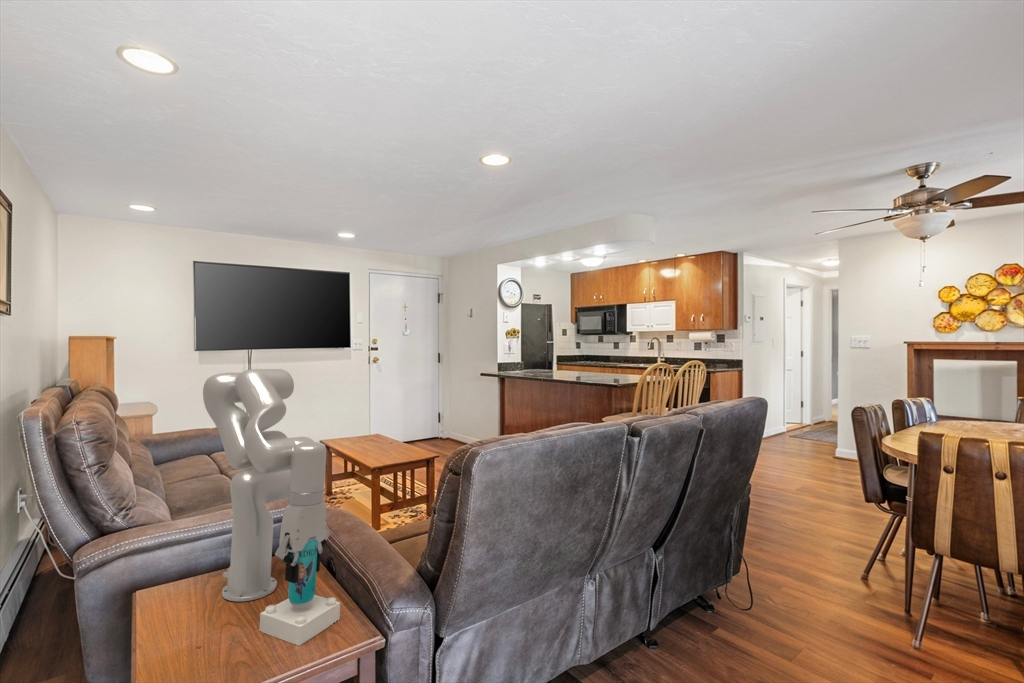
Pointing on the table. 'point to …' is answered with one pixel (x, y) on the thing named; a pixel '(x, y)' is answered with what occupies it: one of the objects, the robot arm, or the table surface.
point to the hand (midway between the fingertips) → (302, 575)
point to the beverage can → (305, 575)
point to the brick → (299, 619)
